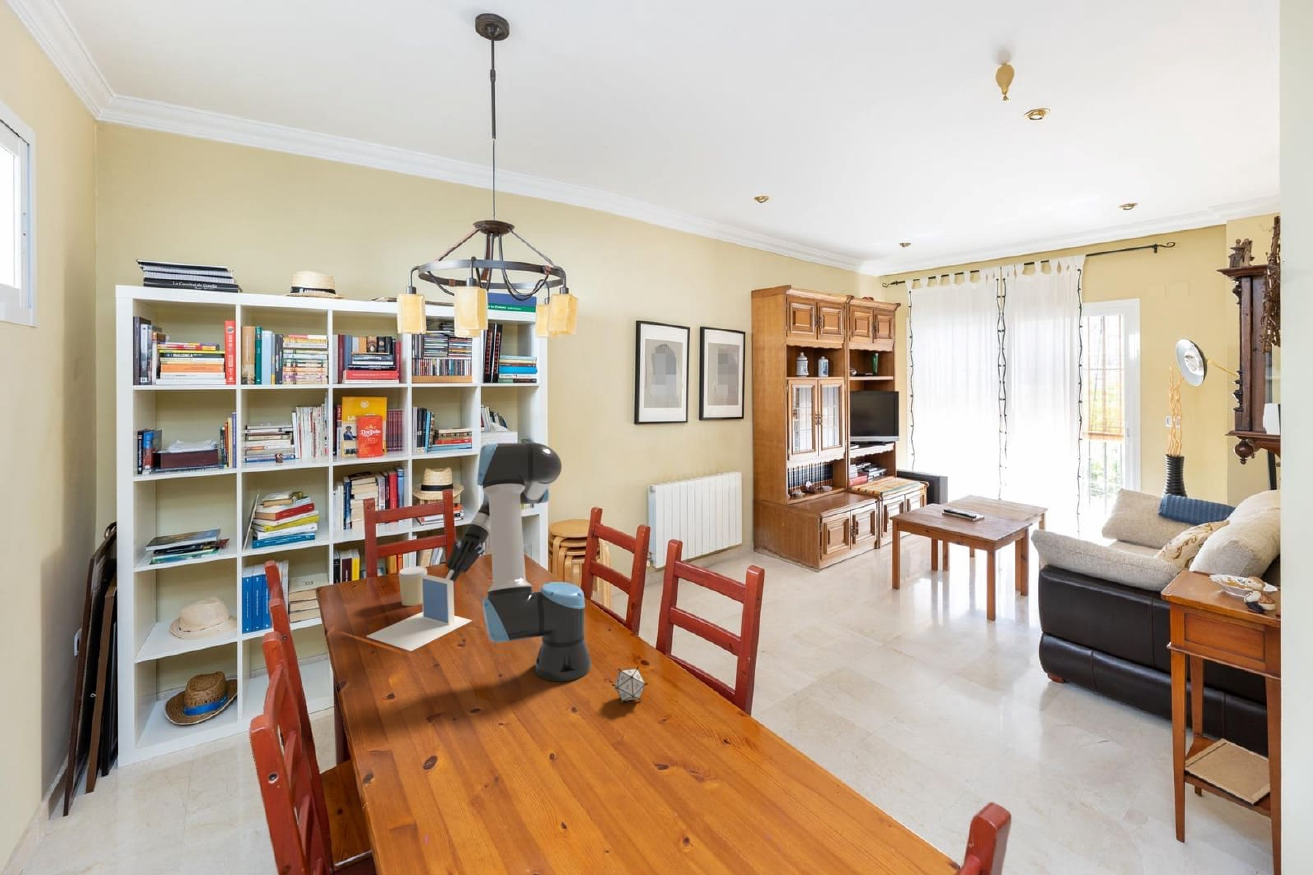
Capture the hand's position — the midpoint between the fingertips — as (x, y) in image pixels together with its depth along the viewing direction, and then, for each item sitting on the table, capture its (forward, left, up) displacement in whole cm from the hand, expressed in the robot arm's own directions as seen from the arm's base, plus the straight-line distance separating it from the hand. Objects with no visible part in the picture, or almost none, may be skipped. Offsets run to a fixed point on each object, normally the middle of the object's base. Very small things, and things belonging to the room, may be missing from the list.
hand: (444, 589), depth 188 cm
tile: (0, +3, -9) cm, 10 cm away
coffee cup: (+20, -4, -10) cm, 22 cm away
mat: (0, +10, -10) cm, 14 cm away
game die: (-78, +13, -10) cm, 80 cm away
